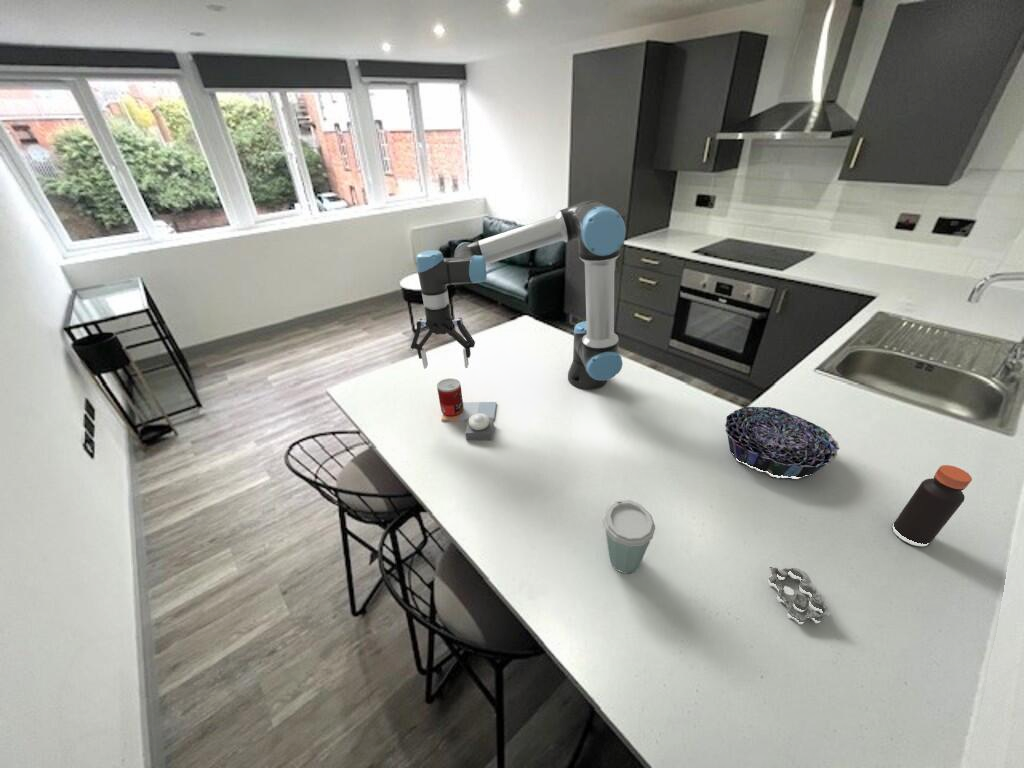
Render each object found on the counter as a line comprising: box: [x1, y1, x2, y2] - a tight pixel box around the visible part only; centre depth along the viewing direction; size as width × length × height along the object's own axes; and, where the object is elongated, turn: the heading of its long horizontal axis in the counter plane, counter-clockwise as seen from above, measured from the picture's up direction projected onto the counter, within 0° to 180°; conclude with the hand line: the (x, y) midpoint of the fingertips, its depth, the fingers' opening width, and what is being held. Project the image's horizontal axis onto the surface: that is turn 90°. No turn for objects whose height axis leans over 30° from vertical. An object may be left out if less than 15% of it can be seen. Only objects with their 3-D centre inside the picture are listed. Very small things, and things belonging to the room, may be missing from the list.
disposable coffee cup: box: [602, 499, 656, 573], centre depth 90 cm, size 11×11×15 cm
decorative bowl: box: [724, 406, 840, 478], centre depth 118 cm, size 26×28×10 cm
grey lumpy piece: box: [768, 566, 833, 623], centre depth 84 cm, size 11×8×4 cm
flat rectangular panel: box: [440, 401, 497, 422], centre depth 144 cm, size 18×10×1 cm, turn 87°
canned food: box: [436, 378, 464, 417], centre depth 141 cm, size 8×8×11 cm
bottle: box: [893, 464, 973, 544], centre depth 90 cm, size 7×7×20 cm
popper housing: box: [465, 417, 494, 441], centre depth 134 cm, size 8×8×3 cm
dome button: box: [469, 413, 489, 430], centre depth 133 cm, size 6×6×6 cm
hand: (446, 366), depth 135 cm, fingers open, 13 cm apart
